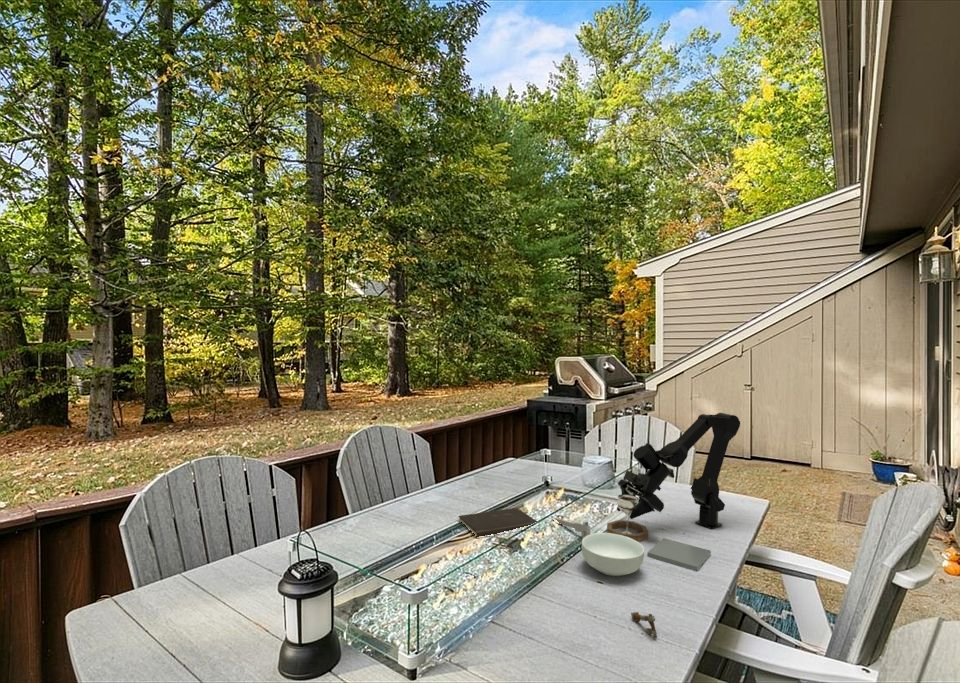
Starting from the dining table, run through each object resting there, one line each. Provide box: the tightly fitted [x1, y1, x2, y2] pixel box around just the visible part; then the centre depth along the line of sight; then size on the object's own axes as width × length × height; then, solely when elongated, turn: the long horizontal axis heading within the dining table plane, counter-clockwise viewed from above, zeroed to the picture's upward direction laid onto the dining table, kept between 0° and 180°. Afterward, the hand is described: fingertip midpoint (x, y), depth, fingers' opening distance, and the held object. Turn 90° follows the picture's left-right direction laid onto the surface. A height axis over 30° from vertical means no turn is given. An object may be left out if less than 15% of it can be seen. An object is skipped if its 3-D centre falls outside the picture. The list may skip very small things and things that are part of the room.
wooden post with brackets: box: [630, 611, 658, 639], centre depth 109 cm, size 2×8×4 cm, turn 15°
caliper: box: [553, 517, 591, 539], centre depth 165 cm, size 20×1×6 cm, turn 24°
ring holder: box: [606, 519, 649, 543], centre depth 163 cm, size 12×12×2 cm
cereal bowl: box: [581, 532, 645, 577], centre depth 138 cm, size 17×17×7 cm
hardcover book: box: [458, 507, 538, 538], centre depth 169 cm, size 16×23×2 cm
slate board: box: [646, 537, 712, 571], centre depth 147 cm, size 14×14×1 cm
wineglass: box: [616, 493, 639, 534], centre depth 163 cm, size 7×7×12 cm
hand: (623, 514), depth 163 cm, fingers open, 7 cm apart
